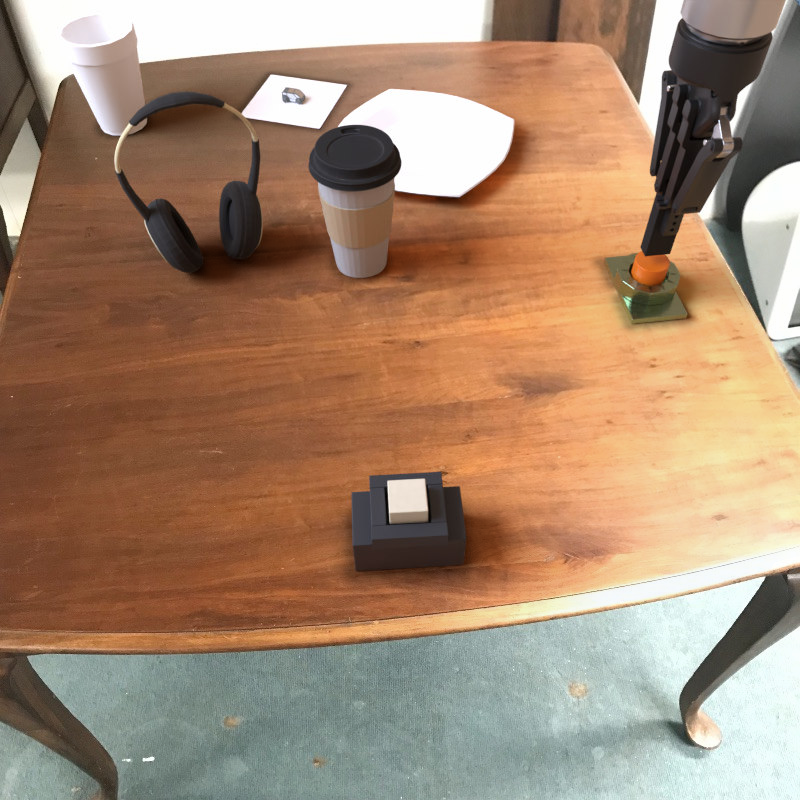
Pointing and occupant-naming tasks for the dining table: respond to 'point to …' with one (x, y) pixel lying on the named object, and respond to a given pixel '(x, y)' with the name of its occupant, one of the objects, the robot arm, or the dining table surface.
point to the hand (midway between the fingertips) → (655, 250)
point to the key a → (407, 501)
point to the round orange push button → (650, 269)
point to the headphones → (236, 202)
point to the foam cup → (105, 67)
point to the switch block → (645, 292)
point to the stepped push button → (407, 527)
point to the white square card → (294, 101)
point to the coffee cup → (357, 194)
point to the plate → (438, 139)
